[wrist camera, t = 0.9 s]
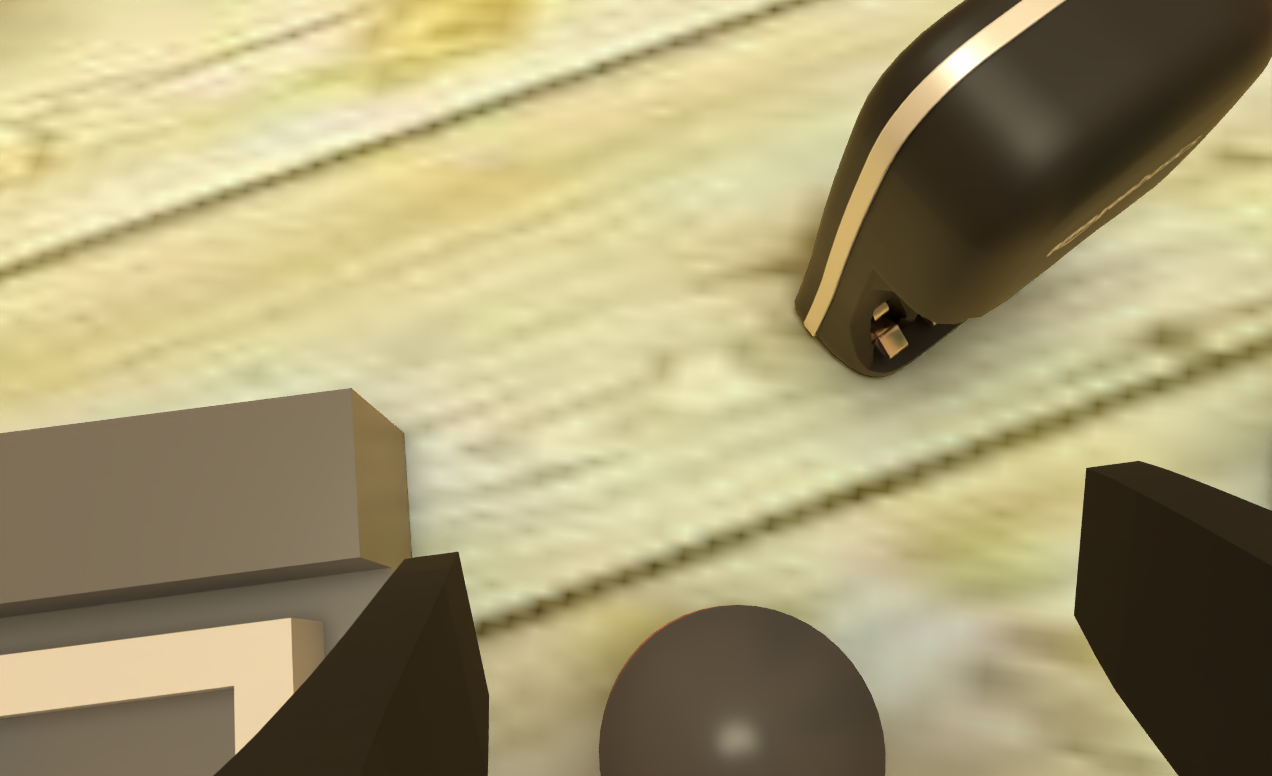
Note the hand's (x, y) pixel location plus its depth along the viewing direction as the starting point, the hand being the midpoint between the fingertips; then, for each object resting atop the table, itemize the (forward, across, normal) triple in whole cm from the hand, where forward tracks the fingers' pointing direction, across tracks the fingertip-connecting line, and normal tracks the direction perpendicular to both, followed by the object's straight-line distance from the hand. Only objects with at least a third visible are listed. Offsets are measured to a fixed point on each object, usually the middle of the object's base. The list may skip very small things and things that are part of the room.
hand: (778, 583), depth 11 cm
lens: (+9, 0, +10) cm, 13 cm away
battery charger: (+15, -7, +2) cm, 17 cm away
